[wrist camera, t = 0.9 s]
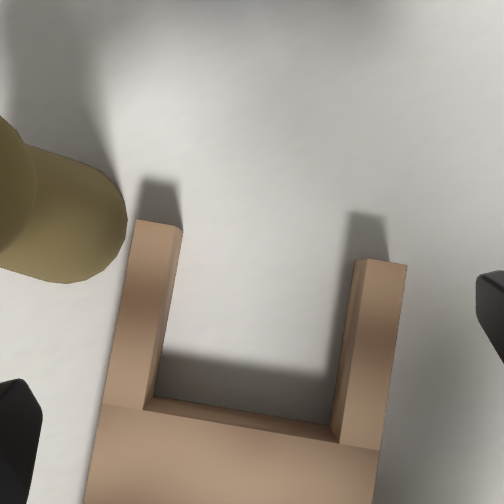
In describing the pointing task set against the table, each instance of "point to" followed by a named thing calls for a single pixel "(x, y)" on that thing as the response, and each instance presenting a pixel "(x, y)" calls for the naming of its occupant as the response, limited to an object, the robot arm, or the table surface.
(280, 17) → the table surface
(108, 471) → the notched board
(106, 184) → the cork
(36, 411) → the robot arm
